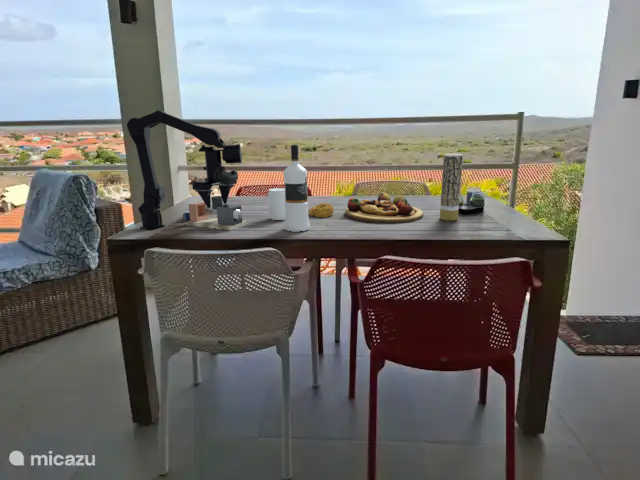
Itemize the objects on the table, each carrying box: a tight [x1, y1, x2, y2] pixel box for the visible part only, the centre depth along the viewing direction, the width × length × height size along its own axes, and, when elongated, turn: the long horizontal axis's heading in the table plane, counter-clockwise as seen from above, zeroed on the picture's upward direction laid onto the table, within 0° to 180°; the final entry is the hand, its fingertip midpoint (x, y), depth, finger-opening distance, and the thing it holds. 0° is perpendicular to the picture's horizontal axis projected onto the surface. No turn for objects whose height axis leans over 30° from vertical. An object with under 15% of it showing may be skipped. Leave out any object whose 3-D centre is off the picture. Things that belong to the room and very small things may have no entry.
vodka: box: [283, 144, 311, 233], centre depth 144 cm, size 9×9×30 cm
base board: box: [186, 216, 248, 231], centre depth 157 cm, size 21×10×1 cm, turn 64°
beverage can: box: [267, 187, 286, 221], centre depth 163 cm, size 8×8×12 cm
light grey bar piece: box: [182, 197, 212, 222], centre depth 175 cm, size 5×7×25 cm
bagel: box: [308, 202, 335, 218], centre depth 170 cm, size 10×11×5 cm
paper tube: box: [439, 153, 464, 222], centre depth 156 cm, size 7×7×25 cm
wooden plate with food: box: [344, 191, 424, 224], centre depth 169 cm, size 32×32×8 cm
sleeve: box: [216, 203, 243, 226], centre depth 153 cm, size 7×6×7 cm
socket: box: [188, 200, 209, 222], centre depth 159 cm, size 4×6×7 cm, turn 154°
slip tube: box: [204, 195, 243, 219], centre depth 153 cm, size 15×4×8 cm, turn 64°
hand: (217, 205), depth 154 cm, fingers open, 9 cm apart
